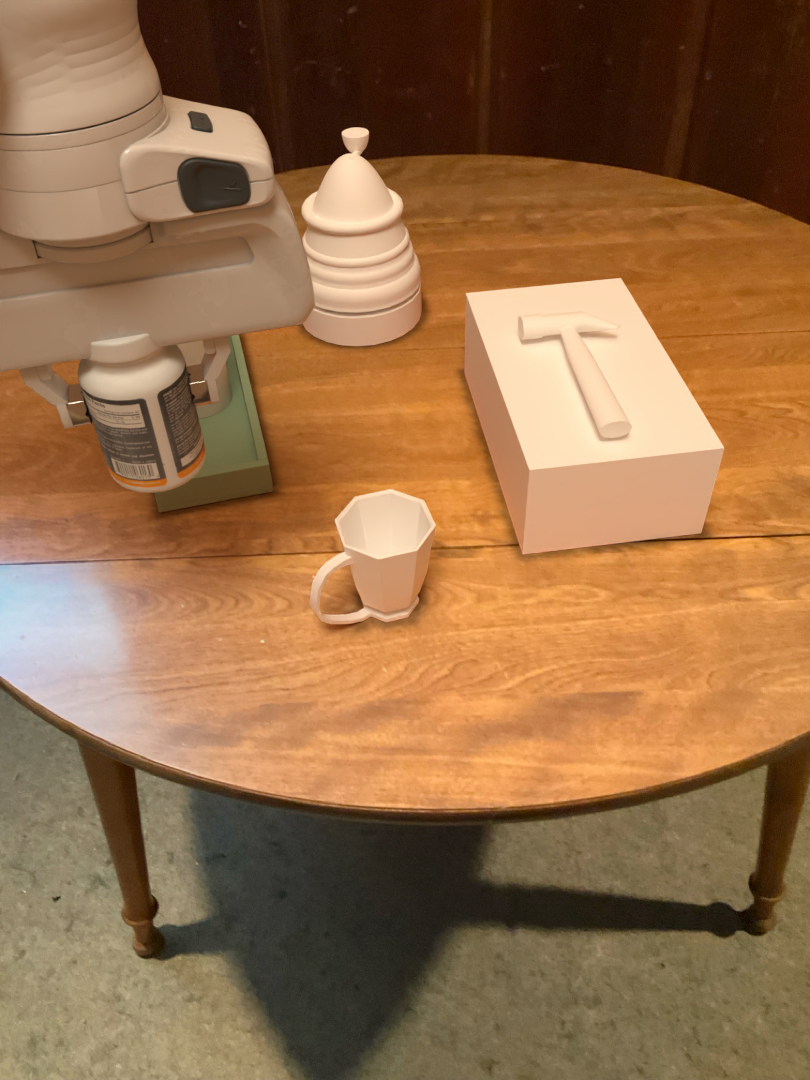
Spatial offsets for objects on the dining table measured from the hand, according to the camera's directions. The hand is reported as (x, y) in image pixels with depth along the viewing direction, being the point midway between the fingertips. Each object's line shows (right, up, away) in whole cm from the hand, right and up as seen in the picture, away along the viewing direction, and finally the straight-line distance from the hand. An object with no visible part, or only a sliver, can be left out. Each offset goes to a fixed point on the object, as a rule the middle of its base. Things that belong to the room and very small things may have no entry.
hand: (144, 409), depth 52 cm
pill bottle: (0, -3, +3) cm, 4 cm away
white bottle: (-5, +6, +35) cm, 36 cm away
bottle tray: (-4, +5, +34) cm, 35 cm away
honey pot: (+10, +17, +46) cm, 50 cm away
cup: (+12, -13, +17) cm, 24 cm away
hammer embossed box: (+29, +1, +30) cm, 42 cm away
